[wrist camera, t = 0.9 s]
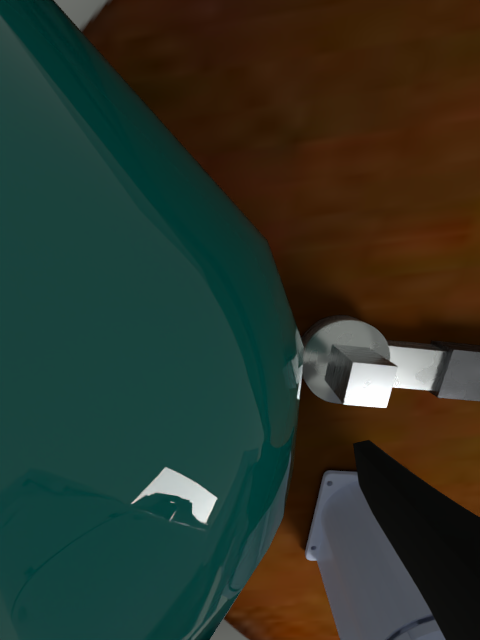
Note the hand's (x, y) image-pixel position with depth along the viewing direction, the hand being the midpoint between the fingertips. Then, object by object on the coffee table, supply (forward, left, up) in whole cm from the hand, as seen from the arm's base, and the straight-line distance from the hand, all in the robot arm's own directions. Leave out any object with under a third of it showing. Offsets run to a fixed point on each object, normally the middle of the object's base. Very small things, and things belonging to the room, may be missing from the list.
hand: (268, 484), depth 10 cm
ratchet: (+2, -12, -10) cm, 15 cm away
